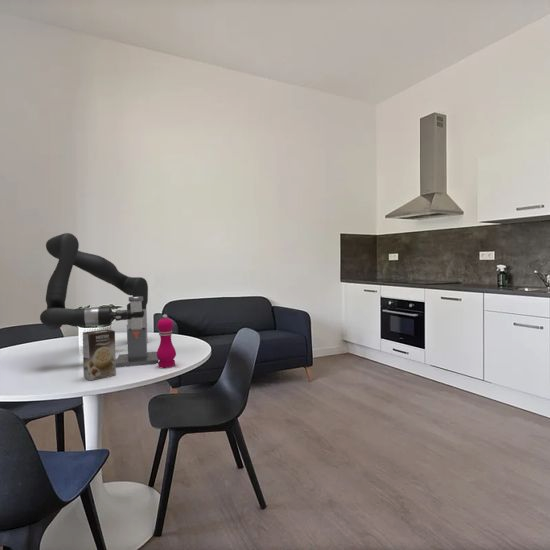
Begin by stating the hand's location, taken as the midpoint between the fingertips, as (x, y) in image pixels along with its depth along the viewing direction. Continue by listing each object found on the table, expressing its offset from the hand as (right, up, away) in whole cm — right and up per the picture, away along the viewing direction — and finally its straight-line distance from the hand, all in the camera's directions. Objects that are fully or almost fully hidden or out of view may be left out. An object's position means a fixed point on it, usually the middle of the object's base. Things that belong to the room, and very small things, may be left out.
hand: (143, 313), depth 162 cm
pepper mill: (+12, -19, -9) cm, 25 cm away
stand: (-2, -19, 0) cm, 19 cm away
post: (-2, -17, 0) cm, 17 cm away
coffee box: (-8, -20, -22) cm, 31 cm away
